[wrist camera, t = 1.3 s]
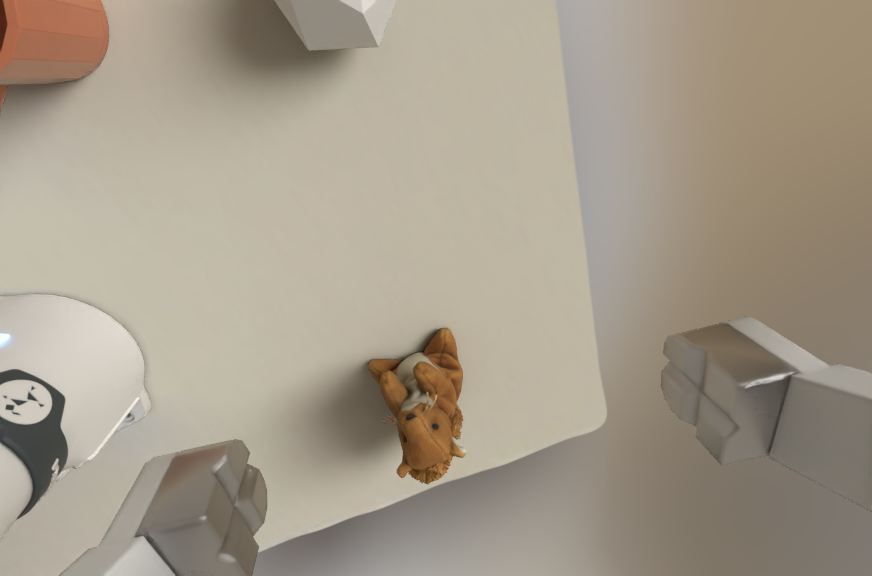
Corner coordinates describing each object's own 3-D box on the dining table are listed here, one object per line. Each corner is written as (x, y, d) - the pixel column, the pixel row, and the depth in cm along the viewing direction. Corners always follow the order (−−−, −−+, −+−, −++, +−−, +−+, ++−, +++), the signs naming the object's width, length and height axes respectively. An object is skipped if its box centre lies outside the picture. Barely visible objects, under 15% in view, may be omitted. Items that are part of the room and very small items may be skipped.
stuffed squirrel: (447, 318, 47) (476, 399, 35) (477, 410, 54) (509, 503, 42) (360, 347, 47) (360, 438, 35) (401, 435, 54) (412, 536, 42)
